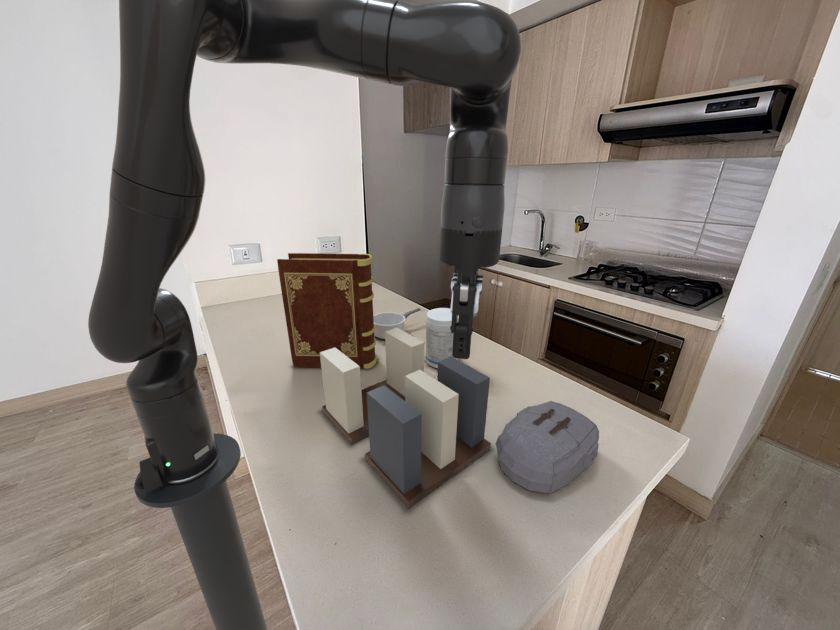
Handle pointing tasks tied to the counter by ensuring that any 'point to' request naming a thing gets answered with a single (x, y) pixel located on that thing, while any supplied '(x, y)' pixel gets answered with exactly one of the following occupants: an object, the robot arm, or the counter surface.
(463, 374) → the grey book right
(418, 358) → the cream book right
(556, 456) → the grey rounded bag
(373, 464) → the book rack
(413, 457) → the grey book left
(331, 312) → the decorative book
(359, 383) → the cream book left
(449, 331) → the supplement tub
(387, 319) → the saucepan
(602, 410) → the counter surface
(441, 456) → the cream book
